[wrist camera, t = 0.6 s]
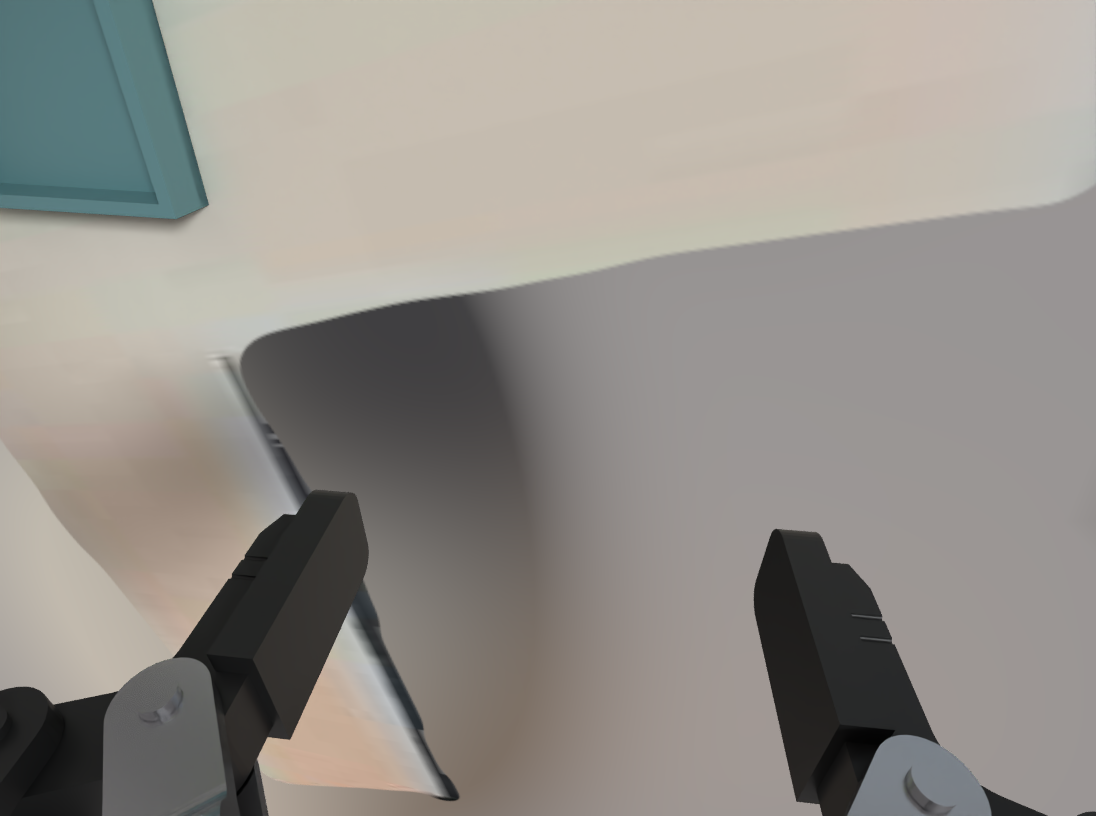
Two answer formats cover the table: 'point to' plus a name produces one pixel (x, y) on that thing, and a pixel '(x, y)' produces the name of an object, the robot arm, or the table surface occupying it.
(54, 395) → the table surface
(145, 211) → the teal tray
